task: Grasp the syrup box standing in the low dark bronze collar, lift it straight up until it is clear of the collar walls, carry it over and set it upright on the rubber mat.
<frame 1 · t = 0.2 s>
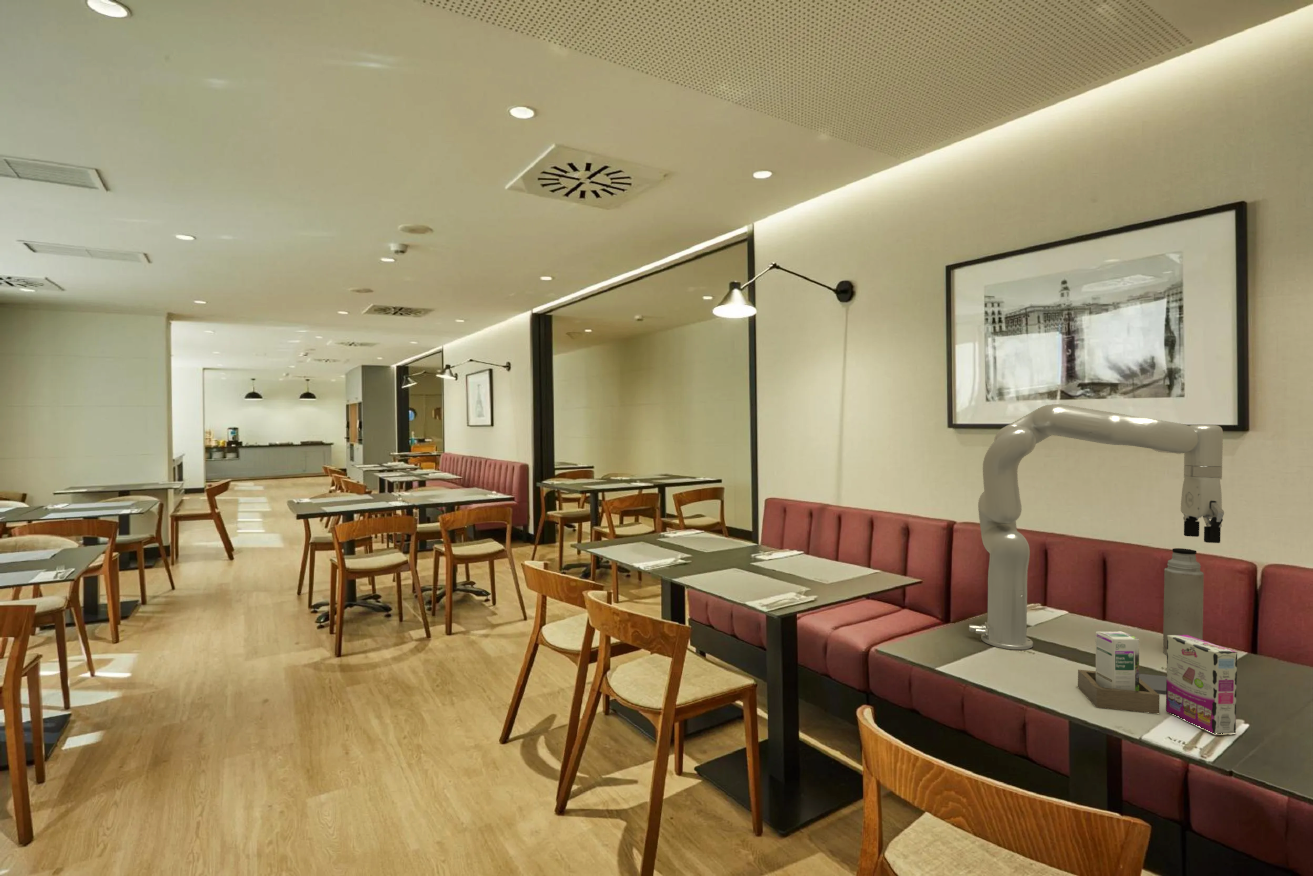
hand: (1201, 539, 166), 31 cm above the table, tool pointing down, fingers open, 9 cm apart
thermos bottle: (1182, 656, 170), on the table
collar: (1116, 699, 142), on the table
syrup box: (1116, 700, 142), resting in collar
mat: (1158, 686, 150), on the table
candy bar box: (1199, 724, 131), on the table
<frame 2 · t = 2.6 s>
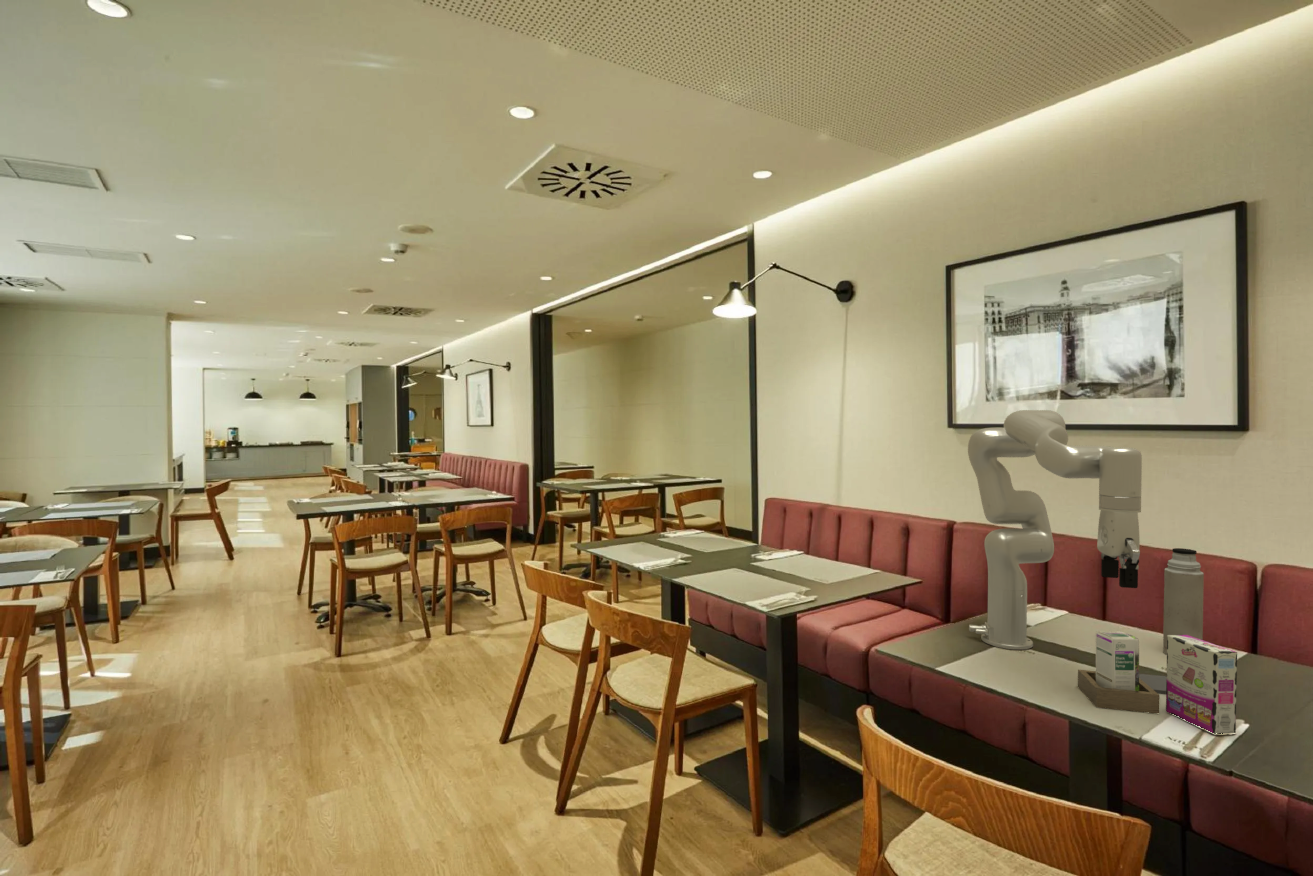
hand: (1118, 582, 141), 26 cm above the table, tool pointing down, fingers open, 9 cm apart
nothing on the table moved.
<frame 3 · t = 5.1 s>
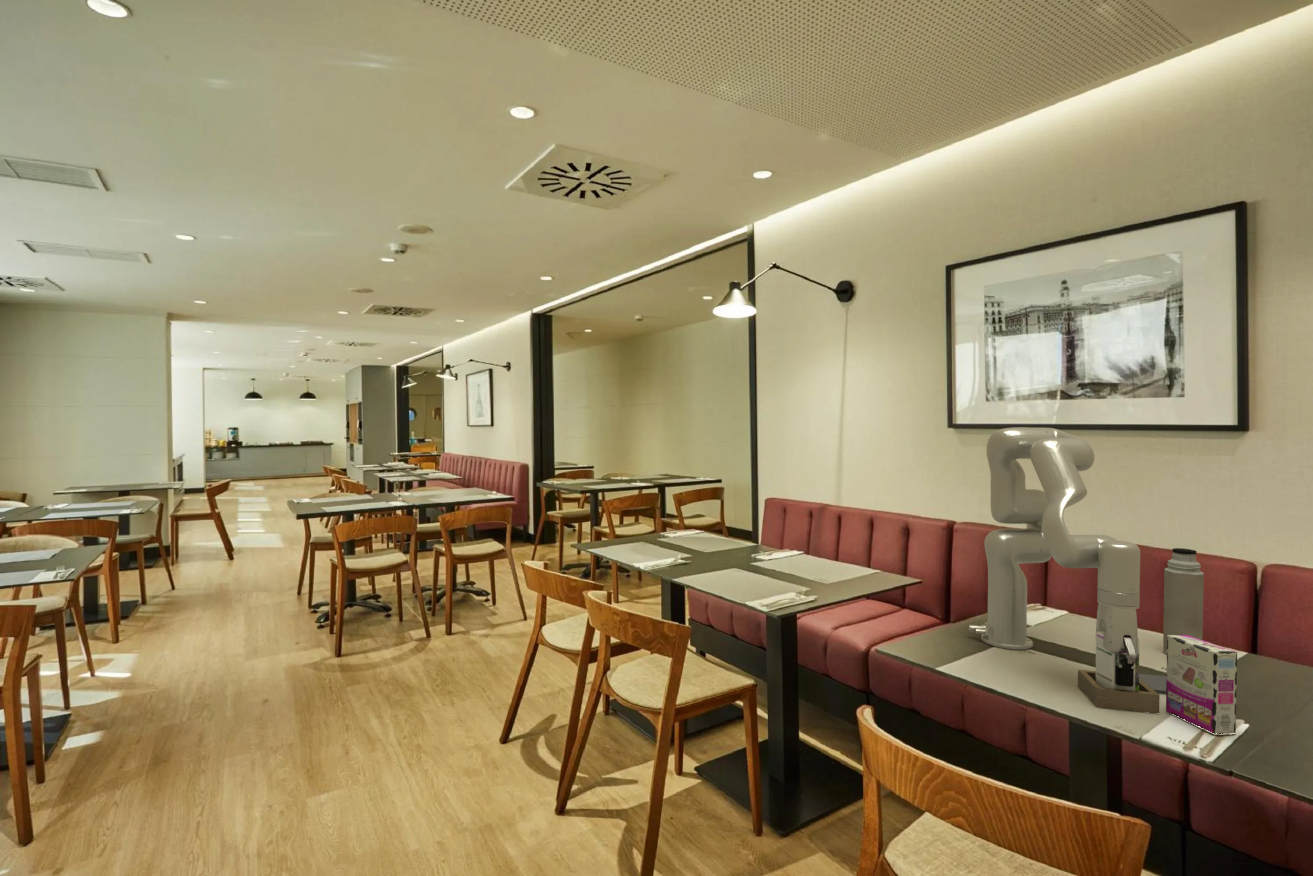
hand: (1116, 678, 142), 5 cm above the table, tool pointing down, fingers closed on syrup box, 6 cm apart
syrup box: (1116, 700, 142), resting in collar, touching gripper
everything else where it was.
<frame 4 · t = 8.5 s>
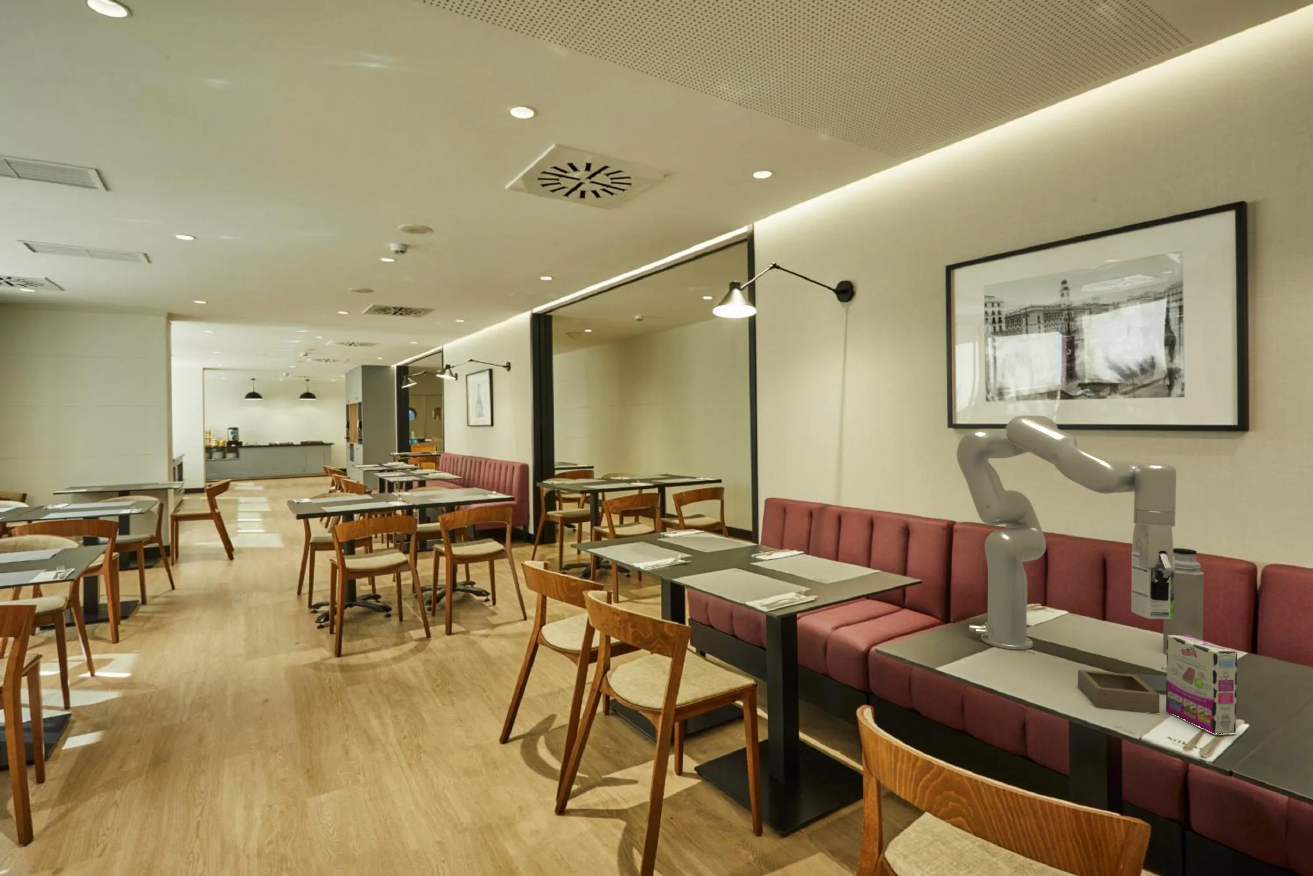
hand: (1152, 595, 148), 21 cm above the table, tool pointing down, fingers closed on syrup box, 6 cm apart
syrup box: (1151, 616, 148), point 17 cm above the table, touching gripper
everything else where it was.
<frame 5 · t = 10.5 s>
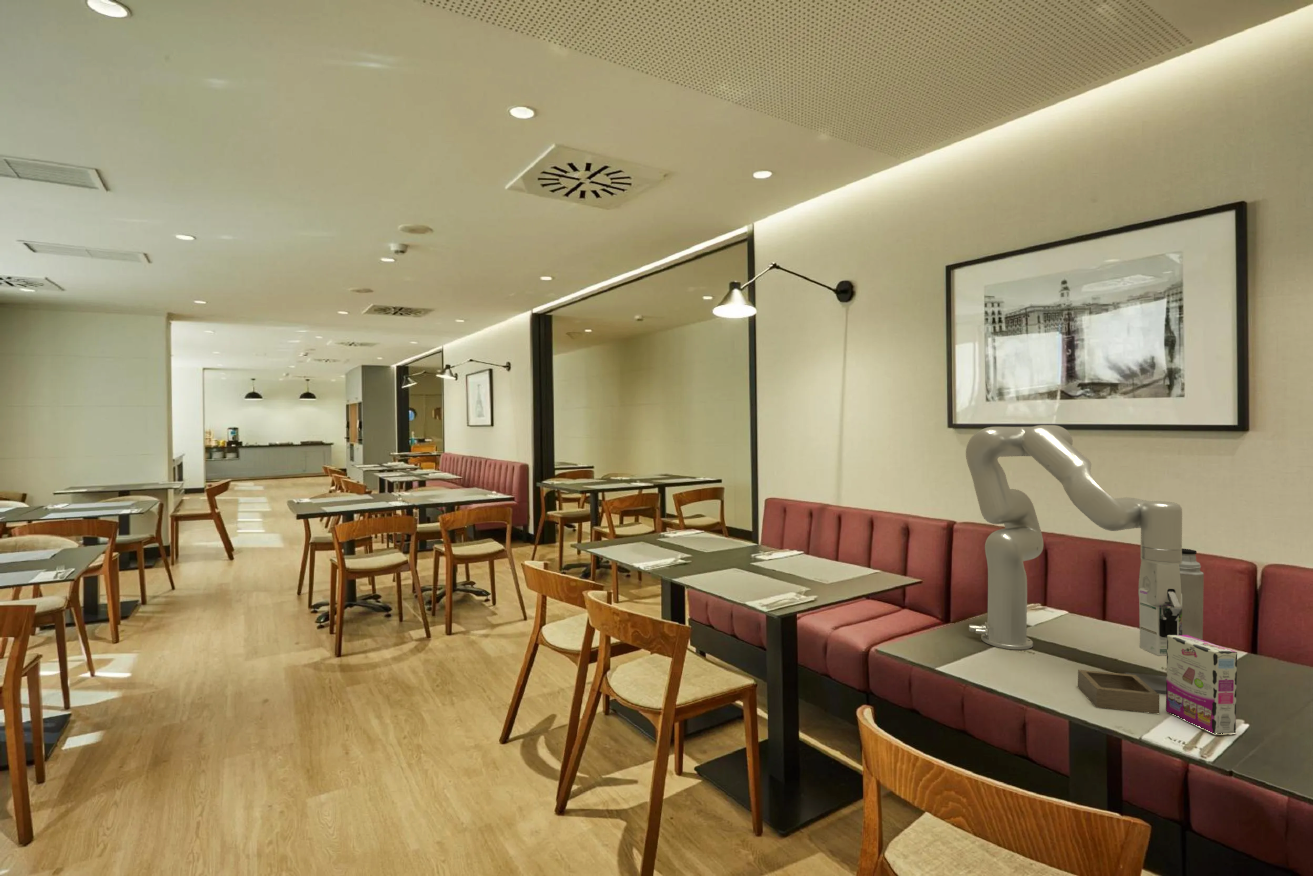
hand: (1160, 631, 149), 13 cm above the table, tool pointing down, fingers closed on syrup box, 6 cm apart
syrup box: (1160, 653, 149), point 8 cm above the table, touching gripper
everything else where it was.
when the fingers open (7 cm above the table, at t = 12.2 s): syrup box moves 1 cm, resting on mat.
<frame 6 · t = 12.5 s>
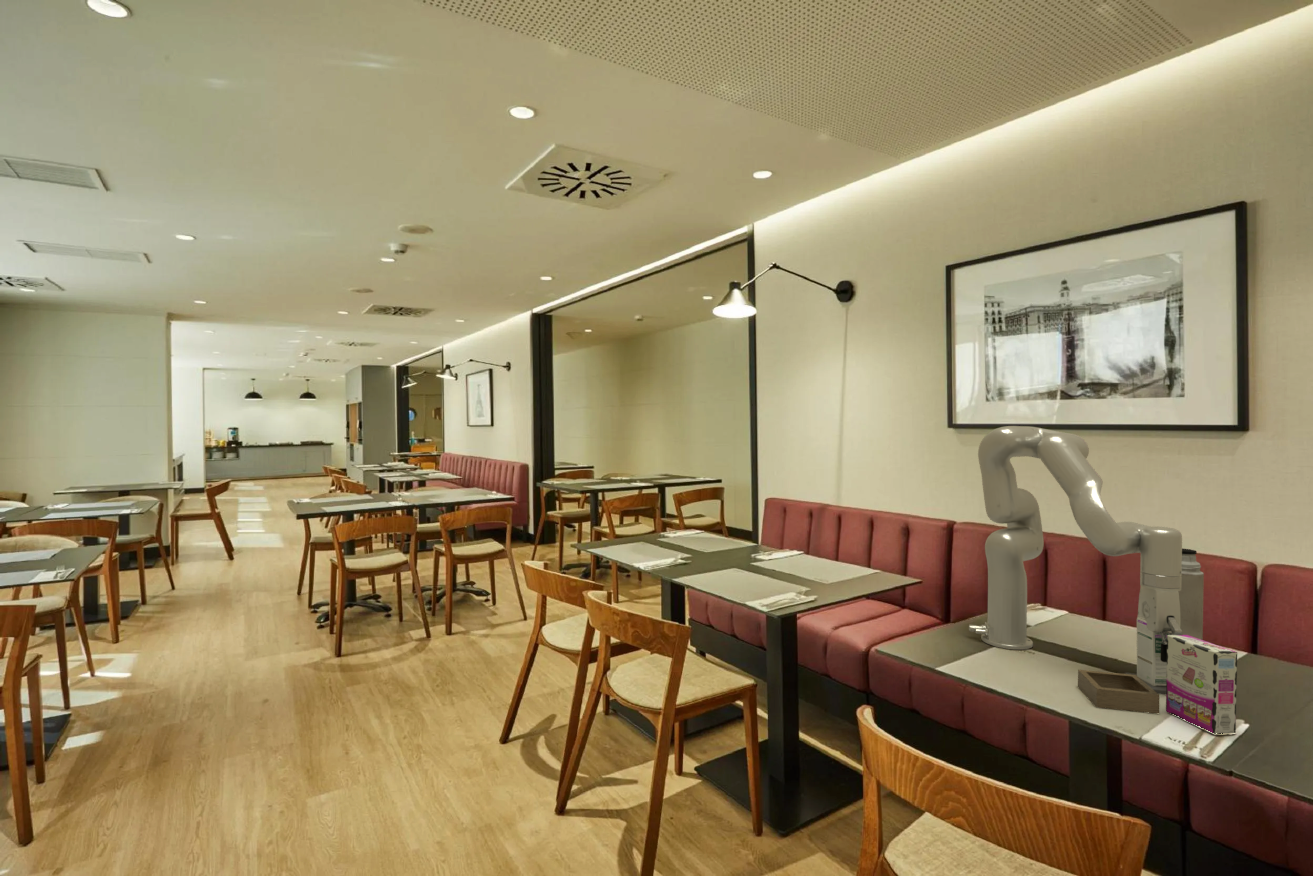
hand: (1159, 654, 150), 7 cm above the table, tool pointing down, fingers open, 9 cm apart
syrup box: (1156, 682, 150), point 1 cm above the table, touching mat
everything else where it was.
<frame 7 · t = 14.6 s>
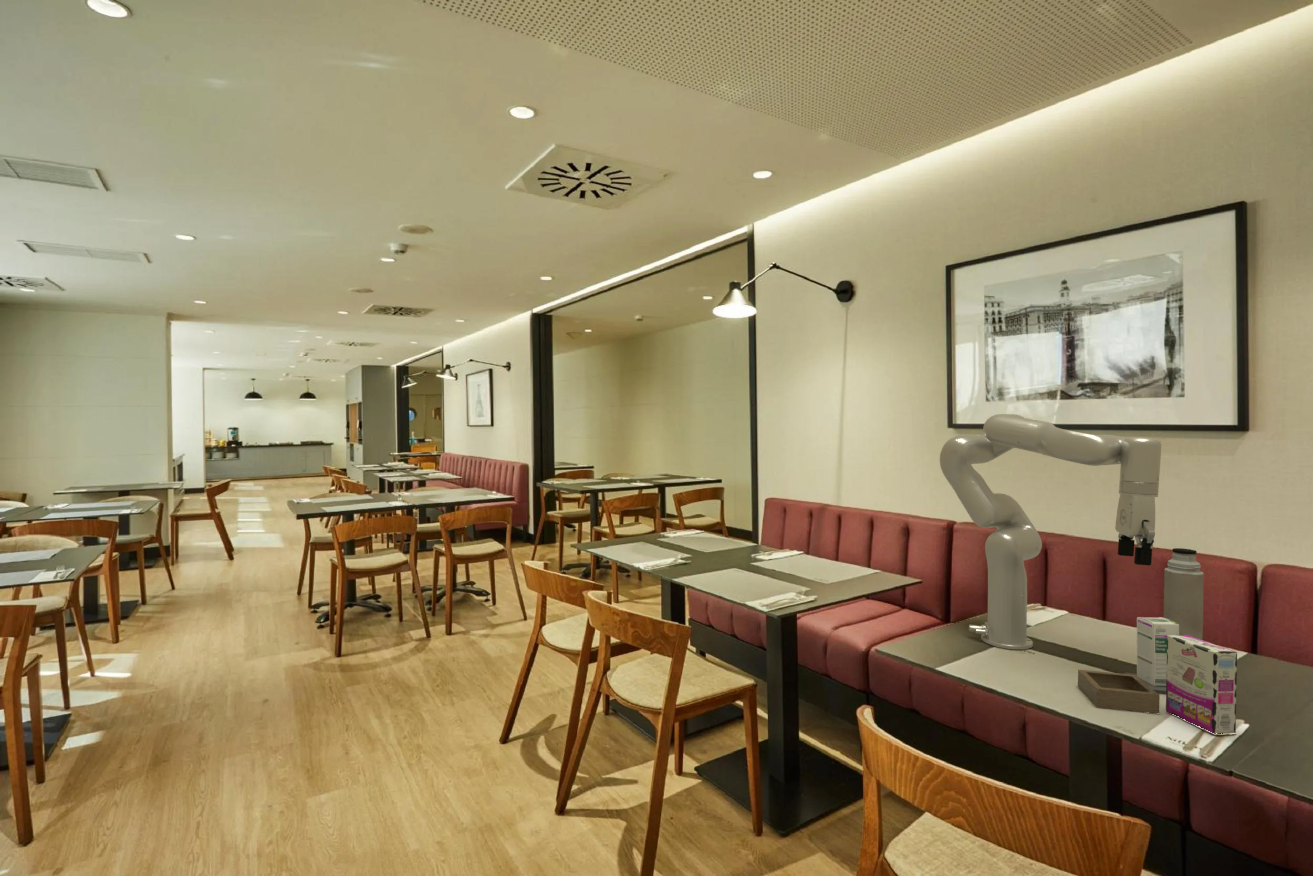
hand: (1133, 560, 155), 28 cm above the table, tool pointing down, fingers open, 9 cm apart
nothing on the table moved.
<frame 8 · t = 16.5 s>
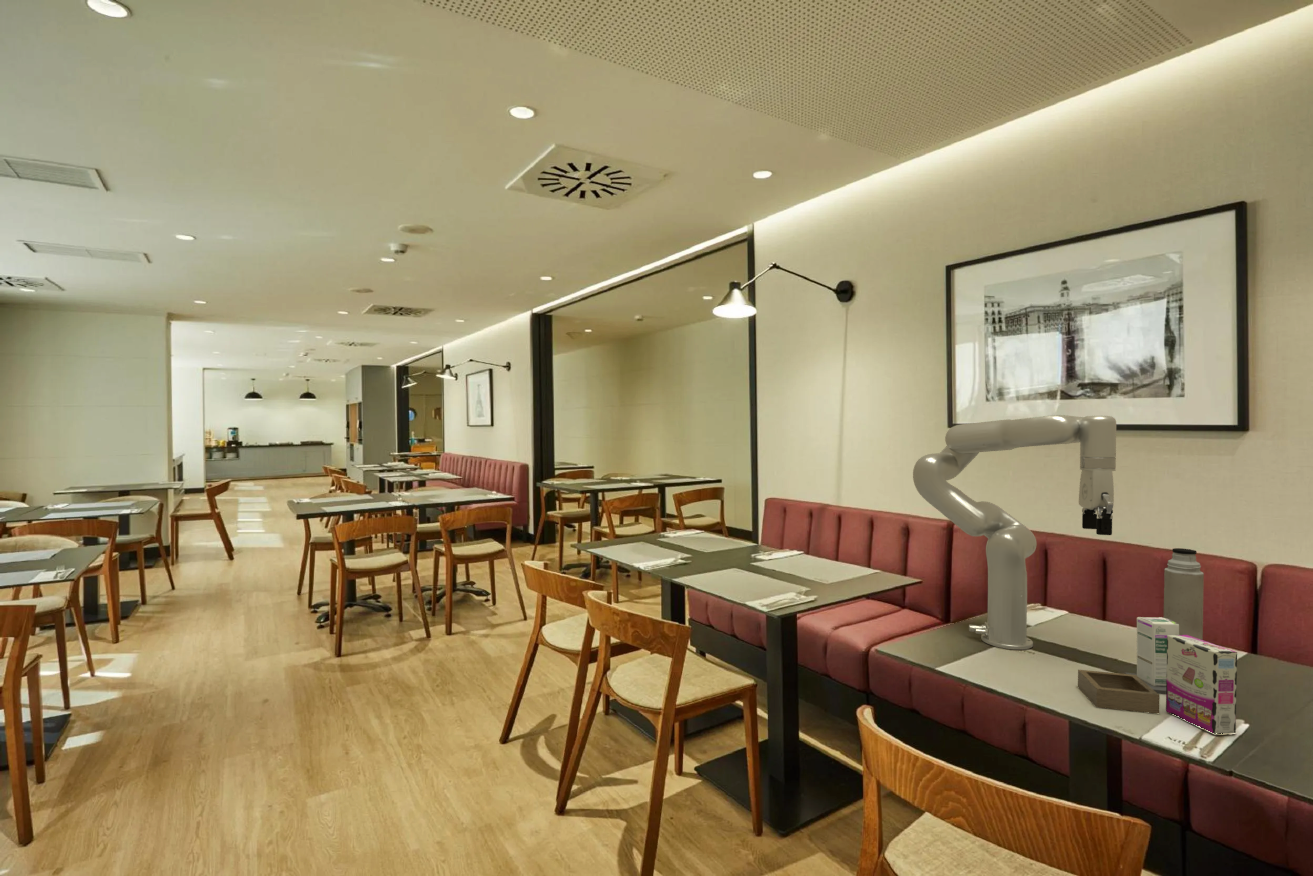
hand: (1096, 531, 164), 33 cm above the table, tool pointing down, fingers open, 9 cm apart
nothing on the table moved.
at the end: syrup box inside the target area on the mat (0.5 cm from its centre), point 0.6 cm above the mat's base; syrup box tilted 0°; the gripper is holding nothing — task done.
